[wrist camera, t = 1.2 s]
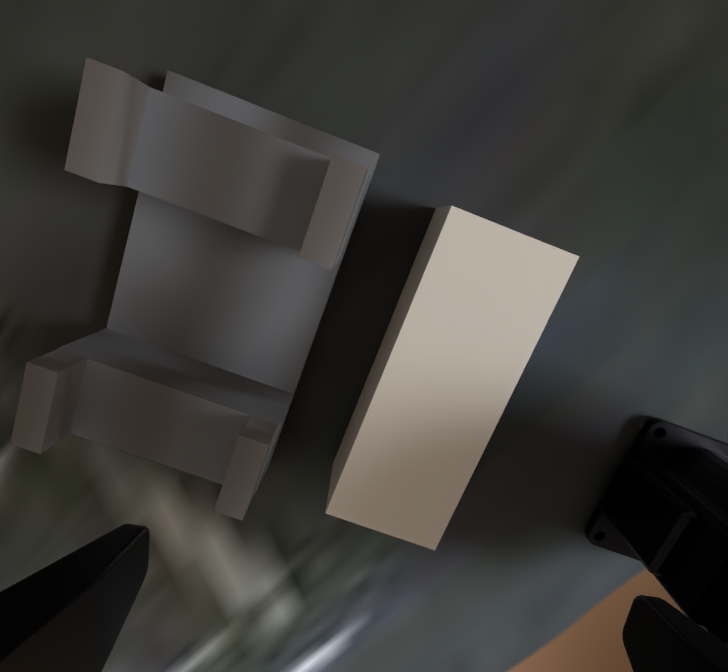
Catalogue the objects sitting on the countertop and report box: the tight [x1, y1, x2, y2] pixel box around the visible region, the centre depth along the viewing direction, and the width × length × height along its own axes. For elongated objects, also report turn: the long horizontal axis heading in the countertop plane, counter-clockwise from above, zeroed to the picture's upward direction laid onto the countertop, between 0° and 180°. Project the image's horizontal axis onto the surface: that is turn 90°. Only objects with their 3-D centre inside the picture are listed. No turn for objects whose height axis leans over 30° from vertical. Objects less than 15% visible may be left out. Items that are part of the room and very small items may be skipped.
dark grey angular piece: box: [10, 57, 379, 521], centre depth 17 cm, size 8×14×6 cm, turn 160°
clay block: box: [325, 206, 579, 550], centre depth 18 cm, size 4×12×4 cm, turn 159°
